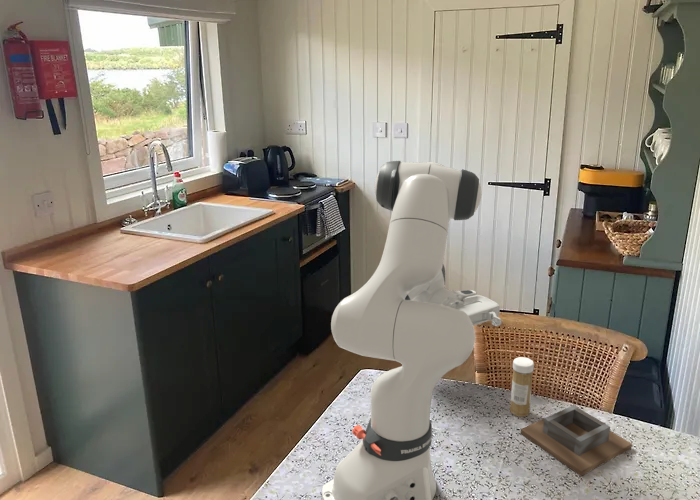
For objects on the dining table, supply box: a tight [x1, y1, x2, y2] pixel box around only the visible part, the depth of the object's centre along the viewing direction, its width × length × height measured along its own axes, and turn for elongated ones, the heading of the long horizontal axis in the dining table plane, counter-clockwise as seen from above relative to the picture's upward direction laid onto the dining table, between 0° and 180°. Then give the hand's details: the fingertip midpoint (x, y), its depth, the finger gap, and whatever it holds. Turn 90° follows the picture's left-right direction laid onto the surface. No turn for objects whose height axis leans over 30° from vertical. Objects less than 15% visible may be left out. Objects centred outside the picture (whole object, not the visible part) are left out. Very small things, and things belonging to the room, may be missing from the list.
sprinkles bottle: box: [509, 356, 535, 418], centre depth 132 cm, size 5×5×14 cm
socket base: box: [519, 404, 633, 477], centre depth 123 cm, size 16×16×5 cm
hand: (485, 327), depth 140 cm, fingers open, 8 cm apart
